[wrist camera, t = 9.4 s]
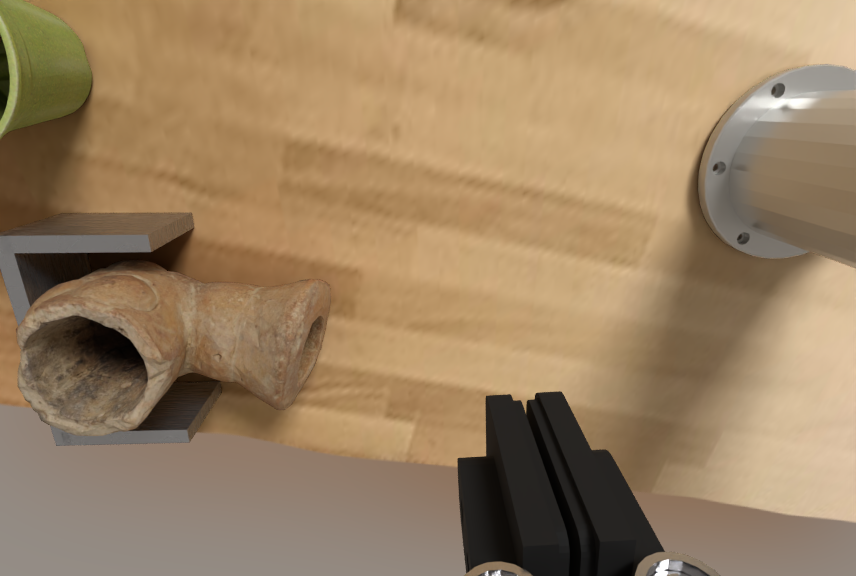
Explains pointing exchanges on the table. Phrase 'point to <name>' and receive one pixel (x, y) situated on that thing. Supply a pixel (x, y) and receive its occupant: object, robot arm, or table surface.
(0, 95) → the plant pot
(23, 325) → the pipe
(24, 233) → the gray channel bracket
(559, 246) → the table surface
